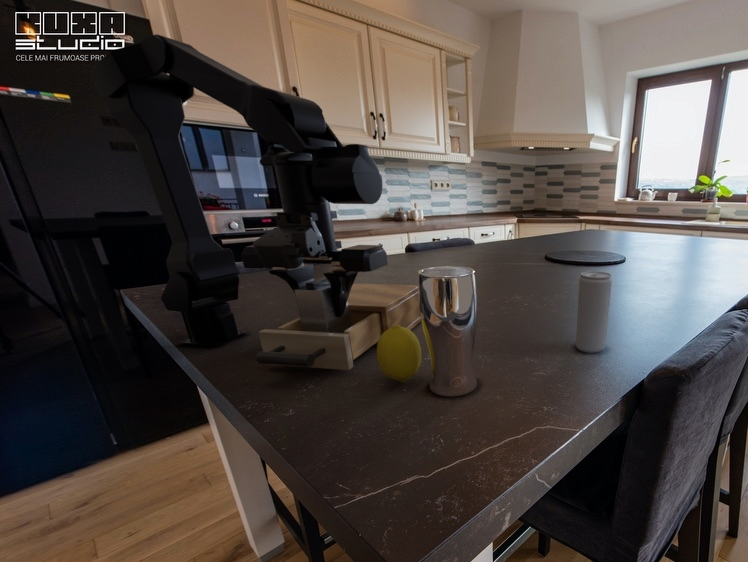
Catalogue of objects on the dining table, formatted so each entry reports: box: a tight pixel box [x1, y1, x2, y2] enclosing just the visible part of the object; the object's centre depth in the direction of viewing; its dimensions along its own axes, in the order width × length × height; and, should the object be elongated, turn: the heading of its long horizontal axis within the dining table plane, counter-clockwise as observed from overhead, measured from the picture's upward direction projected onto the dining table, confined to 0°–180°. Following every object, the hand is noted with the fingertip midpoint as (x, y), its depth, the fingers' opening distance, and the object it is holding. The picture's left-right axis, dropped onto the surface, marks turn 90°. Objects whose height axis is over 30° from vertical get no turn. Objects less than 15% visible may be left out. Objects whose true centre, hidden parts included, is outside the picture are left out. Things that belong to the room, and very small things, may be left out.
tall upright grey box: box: [294, 276, 352, 334], centre depth 58 cm, size 4×6×10 cm, turn 171°
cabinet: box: [348, 282, 421, 347], centre depth 71 cm, size 15×14×7 cm
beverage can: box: [575, 270, 613, 354], centre depth 61 cm, size 5×5×12 cm
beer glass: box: [417, 265, 479, 398], centre depth 49 cm, size 7×7×15 cm
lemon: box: [376, 325, 422, 383], centre depth 51 cm, size 6×6×8 cm
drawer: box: [255, 310, 384, 371], centre depth 58 cm, size 18×13×5 cm
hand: (326, 315), depth 58 cm, fingers open, 4 cm apart
